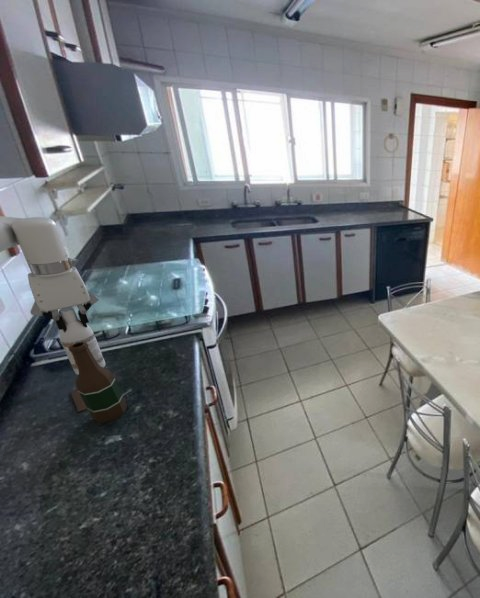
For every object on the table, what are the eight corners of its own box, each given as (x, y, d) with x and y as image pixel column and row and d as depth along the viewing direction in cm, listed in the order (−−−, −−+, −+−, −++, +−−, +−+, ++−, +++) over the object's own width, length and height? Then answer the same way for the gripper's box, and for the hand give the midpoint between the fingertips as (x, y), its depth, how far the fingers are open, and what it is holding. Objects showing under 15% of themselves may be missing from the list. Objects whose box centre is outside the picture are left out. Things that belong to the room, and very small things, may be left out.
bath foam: (71, 370, 97) (44, 310, 89) (100, 359, 103) (77, 302, 94) (80, 379, 94) (53, 318, 86) (110, 367, 100) (87, 308, 91)
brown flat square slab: (78, 412, 95) (78, 411, 94) (70, 392, 101) (70, 391, 101) (129, 392, 103) (129, 391, 103) (119, 375, 110) (118, 374, 110)
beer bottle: (109, 403, 98) (76, 335, 88) (134, 404, 98) (105, 337, 88) (86, 423, 91) (47, 352, 81) (113, 424, 91) (78, 354, 81)
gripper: (89, 257, 93) (109, 314, 101) (1, 269, 81) (31, 333, 89) (96, 264, 89) (115, 323, 96) (4, 278, 77) (34, 344, 85)
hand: (74, 327), depth 92 cm, fingers closed on bath foam, 3 cm apart
